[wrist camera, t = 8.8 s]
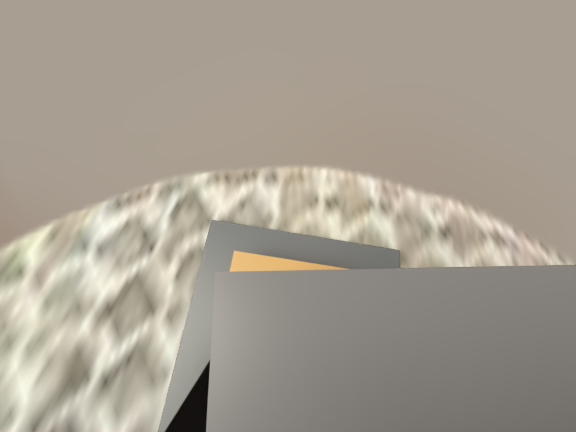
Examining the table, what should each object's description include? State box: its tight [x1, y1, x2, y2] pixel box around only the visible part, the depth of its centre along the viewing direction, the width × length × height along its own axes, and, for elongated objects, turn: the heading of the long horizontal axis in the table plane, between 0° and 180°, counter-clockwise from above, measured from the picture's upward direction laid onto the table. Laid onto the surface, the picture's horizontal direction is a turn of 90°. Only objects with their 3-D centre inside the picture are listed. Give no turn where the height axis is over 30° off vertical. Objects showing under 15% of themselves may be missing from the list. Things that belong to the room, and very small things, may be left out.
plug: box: [206, 265, 576, 432], centre depth 8 cm, size 4×4×12 cm
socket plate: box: [158, 220, 400, 432], centre depth 16 cm, size 14×14×4 cm
